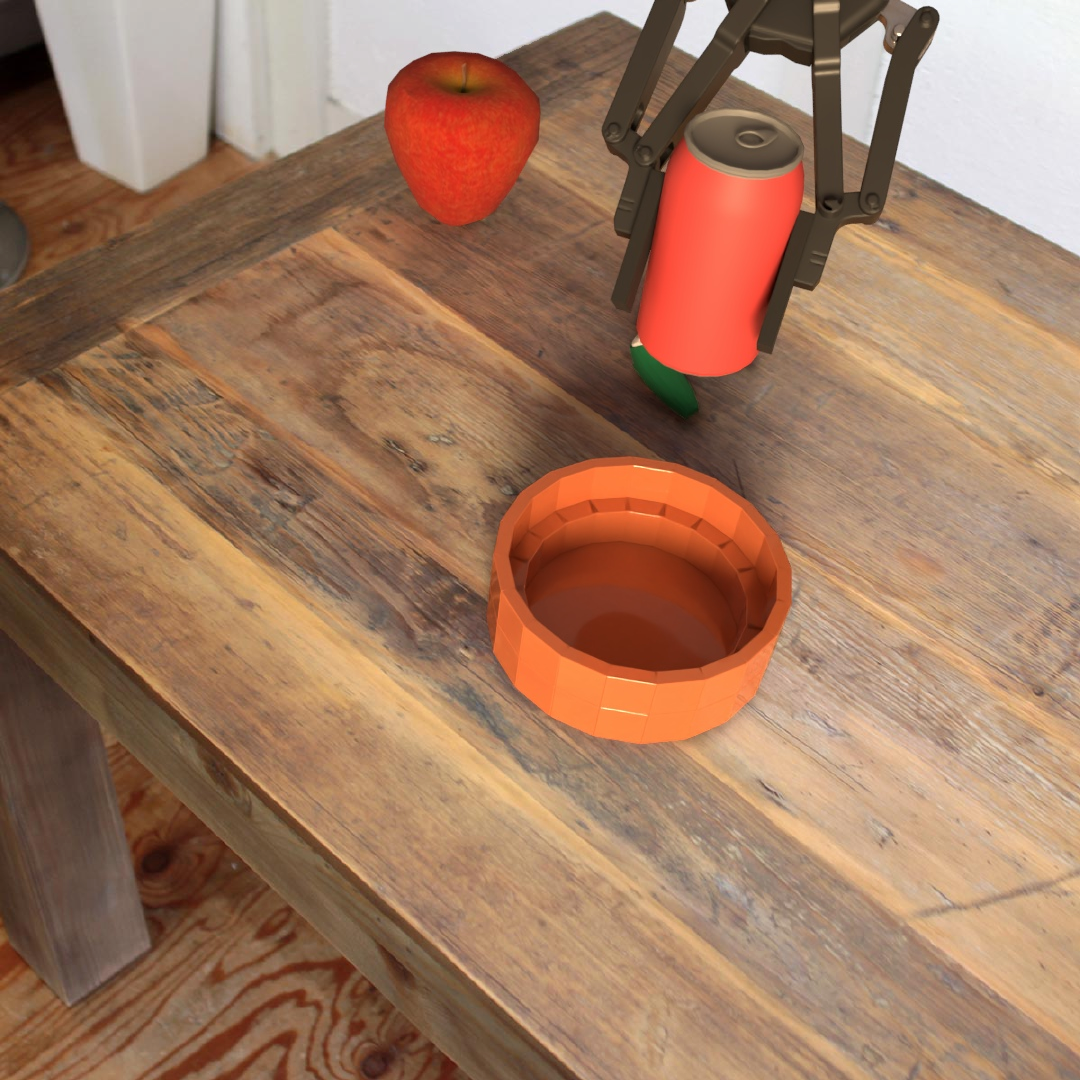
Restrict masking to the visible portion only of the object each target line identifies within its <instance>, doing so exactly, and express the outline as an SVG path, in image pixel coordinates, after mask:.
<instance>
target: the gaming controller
mask: <svg viewBox="0 0 1080 1080" xmlns="http://www.w3.org/2000/svg"><path fill="white" fill-rule="evenodd" d="M629 353H630V357H631V360H632V367H633V369H634V371H635V372H637V375H638V376H639V378H641V380H642V381H643V383H644V384H645V385H646V387H647V388H648V389H649V390H650V391H651V392H652V394H654V396H655V397H657V399H659V400H660V401H661V402H662V403H663V404H664V405H665V406H666V407H667V408H669V409H670V410H671V411H673V412H674V413H675V414H676V415H678V416H680V417H681V418H682V419H684V420H688V419H689V418H691V417H692V416H694V415H696V414H697V413H699V411H700V406H699V402H698V399H697V396H696V393H695V390H694V388H693V386H692V384H691V383H690V382H689V380H688V379H687V377H686V375H685V374H684V373H680V372H678V371H675V370H673V369H671V368H669V367H666V366H664V365H663V364H661V363H660V362H659V361H657V360H656V359H655V358H653V357H652V356H651V355H650V354H649V353H648V351H647V350H646V349H645V347H644V346H643V345H642V343H641V342H640V339H639V335H638V334H637V335H636V336H635V337H634V338H633V339H632V341H631V343H630V344H629Z"/></svg>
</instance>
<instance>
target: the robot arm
mask: <svg viewBox="0 0 1080 1080" xmlns="http://www.w3.org/2000/svg"><path fill="white" fill-rule="evenodd" d="M696 1H697V0H654V1H653V3H652V5H651V8H650V11H649V12H648V14H647V17H646V20H645V22H644V25H643V27H642V30H641V31H640V34H639V37H638V40H637V41H636V44H635V46H634V49H633V51H632V53H631V55H630V58H629V60H628V63H627V65H626V67H625V69H624V70H625V71H624V73H623V75H622V78H621V80H620V82H619V85H618V87H617V90H616V92H615V95H614V97H613V99H612V101H611V103H610V106H609V108H608V111H607V114H606V115H605V118H604V121H603V123H602V126H601V135H602V138H603V140H604V143H605V146H606V148H607V150H608V152H609V153H610V154H611V155H612V156H615V157H618V158H619V159H621V160H622V161H623V162H624V163H625V164H627V166H628V170H627V174H626V177H625V181H624V183H623V187H622V190H621V193H620V196H619V199H618V203H617V206H616V209H615V212H614V216H613V229H614V232H615V234H616V236H617V237H620V238H624V239H627V240H628V243H627V246H626V249H625V252H624V255H623V259H622V262H621V265H620V269H619V271H618V275H617V278H616V281H615V285H614V288H613V291H612V293H611V297H610V301H611V303H612V304H613V306H614V307H615V310H618V311H621V312H625V313H628V314H631V313H632V310H633V307H634V304H635V301H636V297H637V294H638V291H639V288H640V285H641V282H642V279H643V276H644V272H645V269H646V266H647V264H648V261H649V256H650V251H651V246H652V240H653V235H654V230H655V225H656V219H657V214H658V209H659V204H660V199H661V193H662V188H663V183H664V178H665V173H666V171H662V170H663V168H664V167H665V166H666V165H667V164H668V161H669V159H670V157H671V155H672V153H673V150H674V149H675V147H676V146H677V144H678V143H679V141H680V140H681V139H682V137H683V136H684V132H685V128H686V124H687V123H688V122H689V121H690V120H691V119H692V118H693V117H694V116H696V115H698V114H700V113H703V112H705V111H706V109H707V108H708V107H709V105H710V104H711V103H712V101H713V100H714V98H715V97H716V96H717V94H718V93H719V91H720V90H721V89H722V88H723V86H724V84H725V83H726V82H727V81H728V79H729V78H730V76H731V75H732V74H733V73H734V71H735V70H736V69H738V68H739V67H740V66H741V65H742V63H743V62H744V61H745V59H746V58H747V57H748V55H749V54H750V52H751V53H755V54H759V55H762V56H782V57H784V58H785V59H787V60H789V61H791V62H792V63H794V64H798V65H800V66H804V67H809V68H810V74H811V75H810V77H811V93H812V94H811V95H812V96H811V98H812V132H813V133H812V134H813V135H812V136H813V169H814V170H813V174H814V209H815V210H814V212H810V211H807V210H802V209H800V211H799V214H798V216H797V218H796V222H795V225H794V228H793V231H792V234H791V237H790V240H789V243H788V247H787V250H786V253H785V256H784V259H783V262H782V265H781V268H780V271H779V275H778V278H777V281H776V284H775V287H774V290H773V293H772V296H771V299H770V303H769V306H768V309H767V312H766V315H765V318H764V321H763V324H762V327H761V331H760V334H759V337H758V340H757V350H758V351H760V352H762V353H765V354H769V355H772V354H773V351H774V348H775V345H776V342H777V338H778V335H779V333H780V329H781V326H782V323H783V320H784V316H785V314H786V311H787V307H788V304H789V302H790V301H789V300H790V298H791V296H792V292H793V289H794V287H795V288H799V289H802V290H805V291H809V292H814V290H815V289H816V287H818V285H819V284H820V283H821V279H822V276H823V274H824V270H825V267H826V263H827V261H828V258H829V255H830V252H831V249H832V245H833V242H834V239H835V236H836V234H837V233H838V231H839V230H840V229H841V228H843V227H845V226H848V225H858V224H862V225H865V226H871V225H873V224H876V223H877V222H878V221H879V220H880V217H881V215H882V213H883V211H884V208H885V206H886V202H887V198H888V193H889V189H890V185H891V180H892V175H893V170H894V166H895V161H896V157H897V152H898V147H899V143H900V138H901V136H902V129H903V125H904V121H905V117H906V112H907V108H908V102H909V98H910V94H911V90H912V86H913V85H912V84H913V80H914V76H915V73H916V69H917V67H918V65H919V64H920V62H921V61H922V59H923V57H924V56H925V54H926V53H927V51H928V49H929V48H930V46H931V44H932V43H933V40H934V37H935V35H936V32H937V29H938V26H939V23H940V19H941V18H940V17H941V16H940V12H939V11H938V10H937V9H936V8H935V7H933V6H931V5H923V6H921V7H919V8H918V9H917V8H915V7H913V6H912V5H910V4H908V3H906V2H905V1H903V0H724V3H725V5H726V9H727V11H728V13H727V14H726V15H725V17H724V18H723V20H722V21H721V22H720V23H719V25H718V27H717V29H716V30H715V33H714V35H713V36H712V39H711V40H710V42H709V43H708V45H707V46H706V47H705V49H704V50H703V51H702V53H701V54H700V55H699V57H698V58H697V60H696V61H695V63H694V64H693V65H692V66H691V68H690V70H689V71H688V72H687V74H686V75H685V76H684V77H683V79H682V80H681V82H680V83H679V84H678V86H677V87H676V89H675V90H674V91H673V93H672V94H671V95H670V97H669V99H668V100H667V101H666V103H665V104H664V106H663V107H662V108H661V110H660V111H659V112H658V114H657V115H656V116H655V118H654V119H653V121H651V123H650V124H649V126H648V128H647V129H646V130H645V131H644V133H643V134H642V135H640V134H639V133H638V130H639V128H640V126H641V123H642V121H643V119H644V117H645V114H646V111H647V109H648V106H649V104H650V101H651V99H652V96H653V95H654V92H655V90H656V87H657V85H658V82H659V80H660V78H661V75H662V73H663V70H664V68H665V66H666V64H667V61H668V59H669V56H670V54H671V51H672V49H673V46H674V44H675V42H676V39H677V37H678V35H679V33H680V30H681V27H682V25H683V23H684V19H685V15H686V11H687V5H688V3H693V2H696ZM877 22H880V23H881V24H882V26H883V27H884V36H883V40H882V46H883V49H884V50H885V52H887V53H888V54H889V55H890V56H891V57H890V60H889V64H888V67H887V70H886V74H885V77H884V82H883V85H882V90H881V94H880V99H879V104H878V109H877V114H876V117H875V122H874V127H873V131H872V136H871V141H870V144H869V149H868V152H867V153H868V154H867V159H866V162H865V168H864V172H863V176H862V180H861V185H860V190H859V191H848V192H845V191H844V190H845V189H844V158H843V157H844V154H843V120H842V119H843V116H842V115H843V113H842V111H843V110H842V79H841V78H842V77H841V75H842V74H841V70H842V68H841V67H842V49H844V48H845V47H846V46H847V45H848V44H850V43H851V42H853V41H854V40H855V39H856V38H858V37H860V35H862V34H863V33H864V32H865V31H867V30H868V29H869V28H871V27H872V26H874V25H875V24H876V23H877Z"/></svg>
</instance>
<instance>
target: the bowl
mask: <svg viewBox="0 0 1080 1080" xmlns="http://www.w3.org/2000/svg"><path fill="white" fill-rule="evenodd" d="M491 562H492V563H491V572H490V580H489V587H488V588H489V590H488V597H487V598H488V599H487V608H486V617H485V618H486V622H487V628H488V633H489V639H490V643H491V648H492V652H493V655H494V656H495V658H496V660H497V661H498V663H499V664H500V665H501V668H502V669H503V670H504V672H505V674H506V675H507V677H508V678H509V680H510V682H511V683H512V686H513V687H514V688H515V689H517V691H519V692H520V694H522V695H523V696H525V698H527V699H528V700H530V702H532V703H533V704H534V705H536V706H537V708H539V709H540V710H541V711H542V712H544V713H545V714H546V715H547V716H549V717H550V718H552V719H554V720H556V721H558V722H561V723H563V724H565V725H568V726H569V727H572V728H574V729H576V730H579V731H581V732H582V733H585V734H587V735H589V736H593V737H595V738H602V739H607V740H615V741H620V742H626V743H631V744H637V745H646V744H655V743H656V744H657V743H666V742H675V741H684V740H685V741H686V740H688V739H690V738H693V737H695V736H697V735H700V734H703V733H704V732H707V731H709V730H712V729H715V728H716V727H719V726H721V725H723V724H725V723H727V722H728V721H730V720H731V719H732V718H733V717H734V716H735V715H736V714H737V713H738V712H739V711H740V710H741V709H742V708H743V707H744V706H746V705H747V704H748V703H749V702H750V701H751V700H752V699H753V698H755V696H756V694H757V692H758V690H759V688H760V685H761V684H762V681H763V679H764V676H765V674H766V672H767V670H768V668H769V666H770V662H771V661H772V657H773V655H774V652H775V649H776V647H777V644H778V642H779V639H780V637H781V634H782V631H783V628H784V626H785V624H786V620H787V618H788V615H789V613H790V611H791V607H792V604H793V569H792V566H791V563H790V561H789V558H788V555H787V554H786V551H785V547H784V545H783V544H782V540H781V538H780V536H779V534H778V533H777V532H776V531H775V529H774V528H773V527H772V526H771V524H770V523H769V522H768V520H766V519H765V517H764V516H763V515H762V513H760V511H759V510H758V509H757V508H756V507H755V505H754V504H752V503H751V502H750V501H749V500H748V499H746V498H744V497H743V496H742V495H740V494H738V492H736V491H734V490H733V489H731V488H730V487H729V486H727V485H726V484H725V483H723V482H721V481H720V480H719V479H717V478H715V477H713V476H711V475H708V474H706V473H703V472H700V471H698V470H695V469H693V468H690V467H688V466H685V465H682V464H680V463H676V462H673V461H665V460H659V459H653V458H647V457H642V456H641V457H640V456H633V455H628V456H627V455H626V456H613V457H612V456H611V457H609V456H608V457H594V458H593V457H592V458H587V459H585V460H582V461H578V462H576V463H573V464H569V465H566V466H563V467H560V468H556V469H553V470H550V471H548V472H547V473H546V474H544V475H543V476H541V477H540V478H539V479H537V480H536V481H534V482H533V483H531V484H530V485H529V486H527V487H526V488H524V489H522V490H521V491H520V492H519V494H518V495H517V497H516V498H515V500H513V502H512V503H511V505H510V507H509V508H508V509H507V511H506V512H505V513H504V515H503V516H502V518H501V519H500V522H499V525H498V530H497V533H496V539H495V545H494V549H493V554H492V561H491Z"/></svg>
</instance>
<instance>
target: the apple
mask: <svg viewBox="0 0 1080 1080" xmlns="http://www.w3.org/2000/svg"><path fill="white" fill-rule="evenodd" d="M540 124H541V102H540V97H539V96H538V95H537V94H536V92H535V91H534V90H533V89H532V88H531V87H530V86H529V85H528V84H527V82H526V81H525V80H524V79H523V78H522V76H520V74H519V73H518V72H517V71H516V70H514V69H513V68H511V67H510V66H508V65H507V64H506V63H504V62H503V61H501V60H500V59H496V58H493V57H491V56H488V55H485V54H483V53H479V52H471V51H457V50H451V51H439V52H438V51H435V52H430V53H428V54H425V55H422V56H421V57H418V58H416V59H413V60H412V61H410V62H409V63H407V65H405V66H404V67H403V68H401V69H399V71H398V72H397V73H396V74H395V76H394V77H393V78H392V79H391V81H390V82H389V84H388V85H387V89H386V96H385V106H384V120H383V128H384V130H385V133H386V137H387V141H388V144H389V146H390V150H391V152H392V157H393V158H394V163H395V164H396V166H397V168H398V170H399V171H400V173H401V175H402V177H403V179H404V181H405V183H406V184H407V186H408V188H409V190H410V193H411V194H412V196H413V197H414V200H415V201H416V203H417V205H418V207H420V208H421V209H422V210H424V211H425V212H427V214H430V215H431V216H432V217H434V218H435V219H436V220H437V221H438V222H440V223H441V224H444V225H447V226H450V227H461V226H465V225H469V224H471V223H475V222H478V221H481V220H484V219H485V218H487V217H489V216H490V215H492V214H493V213H495V212H496V211H497V209H498V208H499V206H500V205H501V204H502V203H503V201H504V200H505V198H506V197H507V196H508V194H509V193H510V192H511V191H512V189H513V188H514V186H515V184H516V182H517V181H518V178H519V177H520V175H521V173H522V171H523V170H524V167H525V166H526V164H527V162H528V160H529V159H530V157H531V155H532V154H533V152H534V150H535V148H536V146H537V144H538V142H539V140H540V130H541V129H540V128H541V125H540Z"/></svg>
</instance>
